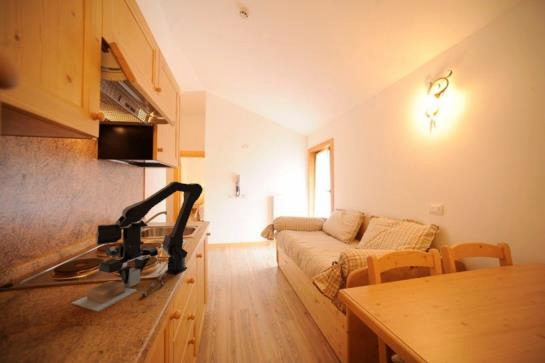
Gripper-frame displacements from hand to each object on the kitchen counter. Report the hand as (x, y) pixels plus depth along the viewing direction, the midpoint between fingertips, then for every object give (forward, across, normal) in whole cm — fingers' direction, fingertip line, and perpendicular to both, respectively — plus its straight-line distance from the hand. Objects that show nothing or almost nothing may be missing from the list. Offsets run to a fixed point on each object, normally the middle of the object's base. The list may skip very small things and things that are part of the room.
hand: (131, 281), depth 75 cm
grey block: (+1, 0, 0) cm, 1 cm away
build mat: (+1, +9, +1) cm, 9 cm away
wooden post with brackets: (+1, +1, +12) cm, 12 cm away
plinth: (+1, +9, +1) cm, 9 cm away
